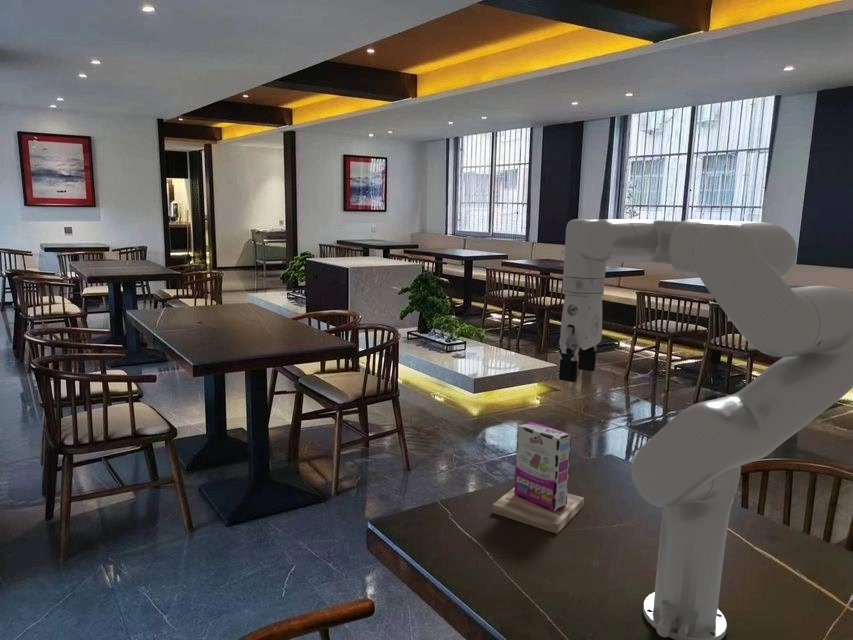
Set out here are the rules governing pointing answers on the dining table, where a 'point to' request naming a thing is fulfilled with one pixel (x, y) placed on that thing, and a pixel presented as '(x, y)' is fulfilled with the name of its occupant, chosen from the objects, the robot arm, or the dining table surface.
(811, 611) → the dining table surface
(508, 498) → the base board
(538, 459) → the candy bar box
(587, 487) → the dining table surface
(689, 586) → the robot arm
